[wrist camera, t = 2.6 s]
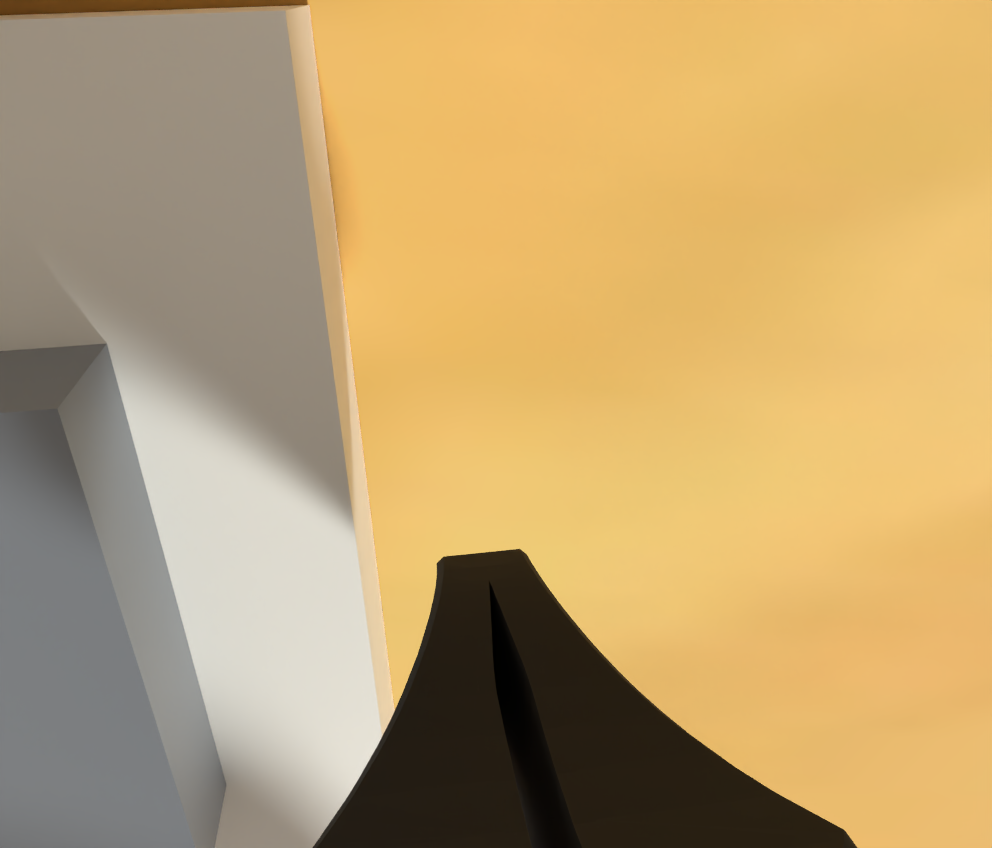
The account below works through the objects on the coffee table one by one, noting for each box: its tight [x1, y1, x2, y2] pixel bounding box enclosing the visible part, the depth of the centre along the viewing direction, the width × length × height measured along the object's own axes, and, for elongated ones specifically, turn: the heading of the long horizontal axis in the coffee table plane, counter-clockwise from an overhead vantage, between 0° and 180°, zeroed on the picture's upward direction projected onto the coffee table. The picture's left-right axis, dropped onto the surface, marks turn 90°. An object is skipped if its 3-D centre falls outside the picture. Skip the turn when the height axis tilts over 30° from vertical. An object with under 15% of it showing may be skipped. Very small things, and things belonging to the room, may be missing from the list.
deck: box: [0, 5, 395, 848], centre depth 15 cm, size 17×12×4 cm
